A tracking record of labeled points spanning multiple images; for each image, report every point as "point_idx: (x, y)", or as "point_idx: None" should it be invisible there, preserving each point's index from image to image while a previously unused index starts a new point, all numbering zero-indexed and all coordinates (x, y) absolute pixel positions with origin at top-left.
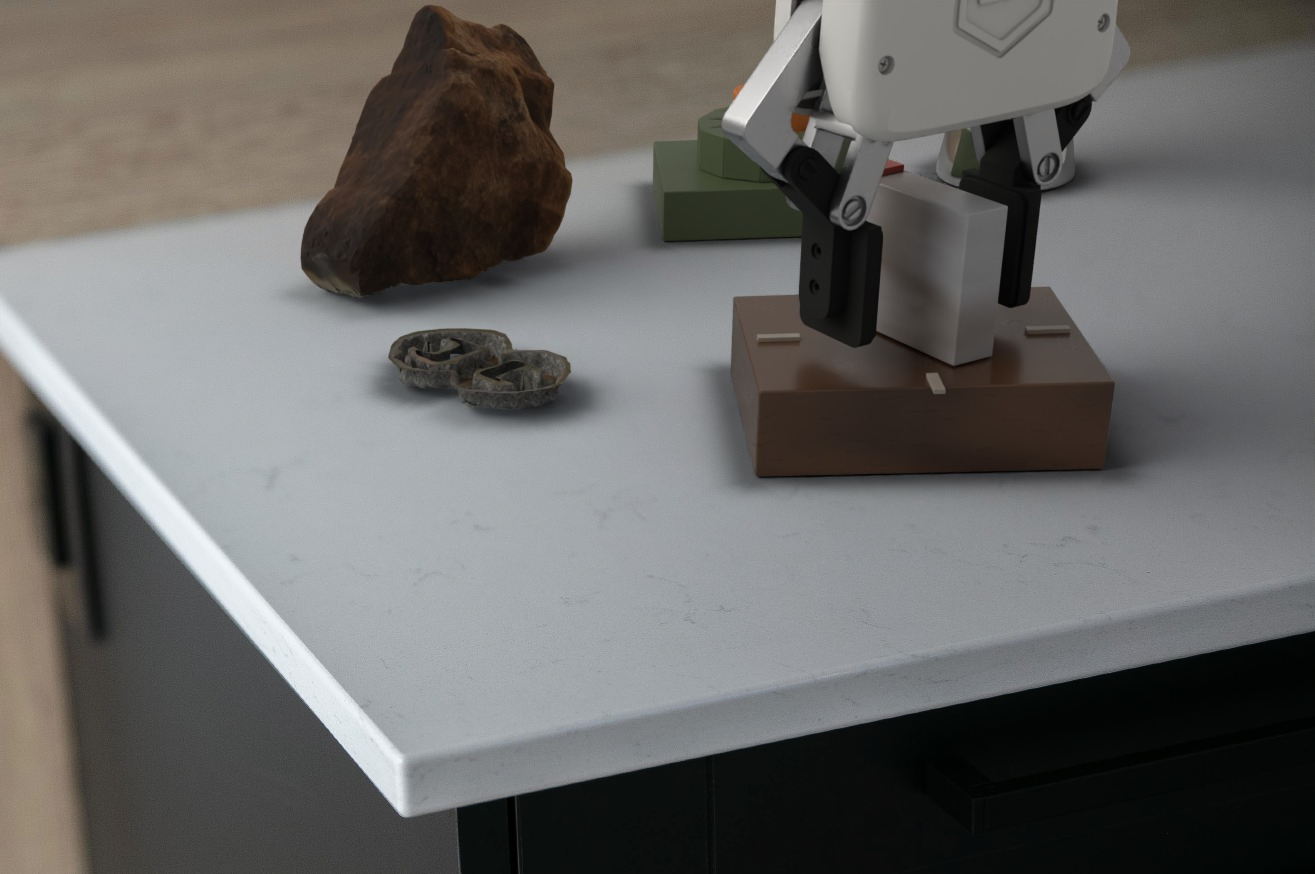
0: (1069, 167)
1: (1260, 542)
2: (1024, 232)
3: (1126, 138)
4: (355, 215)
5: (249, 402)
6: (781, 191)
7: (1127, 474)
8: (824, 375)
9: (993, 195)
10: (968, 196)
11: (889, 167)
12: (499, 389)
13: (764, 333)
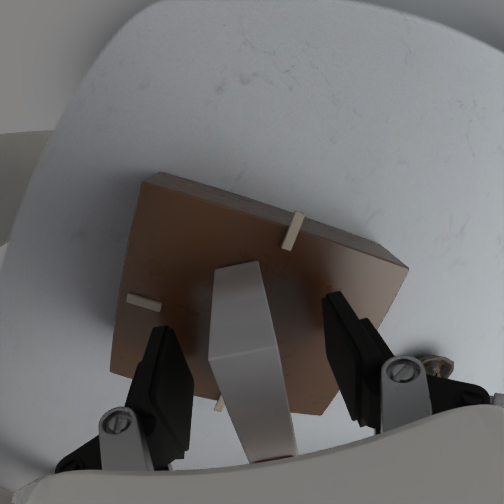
0: None
1: (131, 43)
2: (154, 369)
3: (35, 479)
4: None
5: (482, 380)
6: None
7: (148, 160)
8: (357, 280)
9: (171, 419)
10: (235, 399)
11: None
12: (437, 366)
13: None
